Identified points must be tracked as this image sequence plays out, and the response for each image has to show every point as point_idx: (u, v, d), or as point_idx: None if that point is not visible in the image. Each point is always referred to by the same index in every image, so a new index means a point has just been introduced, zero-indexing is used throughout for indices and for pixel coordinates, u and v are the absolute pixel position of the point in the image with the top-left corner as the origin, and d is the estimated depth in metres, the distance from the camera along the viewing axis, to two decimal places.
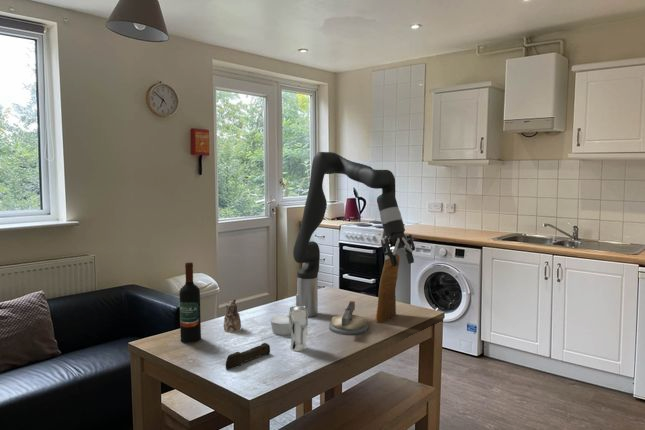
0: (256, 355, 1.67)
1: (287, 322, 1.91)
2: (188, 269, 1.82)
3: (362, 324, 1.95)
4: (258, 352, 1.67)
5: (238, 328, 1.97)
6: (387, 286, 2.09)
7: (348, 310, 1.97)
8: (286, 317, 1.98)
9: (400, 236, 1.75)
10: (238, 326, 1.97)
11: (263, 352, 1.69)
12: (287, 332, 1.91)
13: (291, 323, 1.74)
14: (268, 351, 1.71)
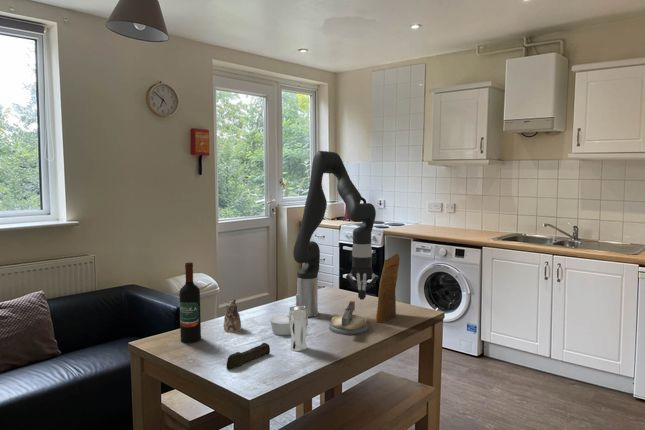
0: (256, 355, 1.67)
1: (287, 322, 1.91)
2: (188, 269, 1.82)
3: (362, 324, 1.95)
4: (258, 352, 1.67)
5: (238, 328, 1.97)
6: (387, 286, 2.09)
7: (348, 310, 1.97)
8: (286, 317, 1.98)
9: (364, 271, 1.85)
10: (238, 326, 1.97)
11: (263, 352, 1.69)
12: (287, 332, 1.91)
13: (291, 323, 1.74)
14: (268, 351, 1.71)
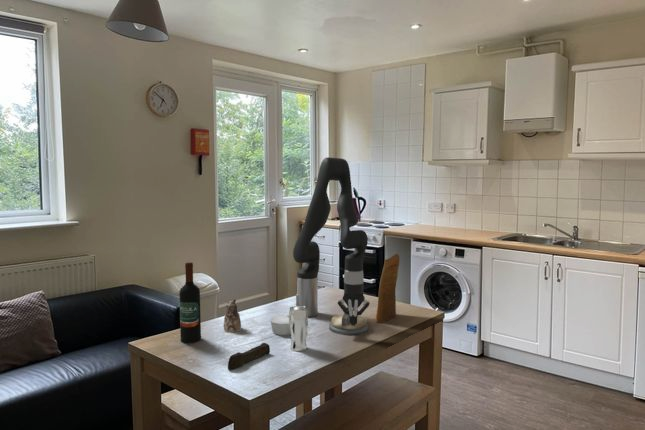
0: (257, 355, 1.67)
1: (287, 322, 1.91)
2: (188, 269, 1.82)
3: (362, 324, 1.95)
4: (258, 352, 1.67)
5: (238, 328, 1.97)
6: (387, 286, 2.09)
7: None
8: (286, 317, 1.98)
9: (356, 297, 1.86)
10: (238, 326, 1.97)
11: (263, 352, 1.69)
12: (287, 332, 1.91)
13: (291, 323, 1.74)
14: (268, 351, 1.71)
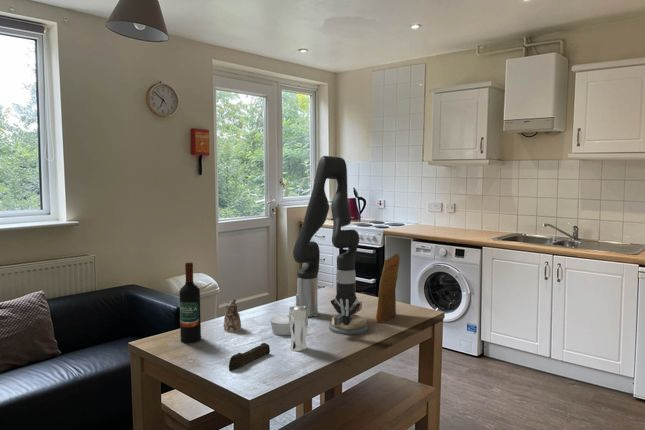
0: (257, 355, 1.67)
1: (287, 322, 1.91)
2: (188, 269, 1.82)
3: (359, 325, 1.94)
4: (259, 352, 1.67)
5: (238, 328, 1.97)
6: (387, 286, 2.09)
7: None
8: (286, 317, 1.98)
9: (347, 297, 1.86)
10: (238, 326, 1.97)
11: (263, 352, 1.69)
12: (287, 332, 1.91)
13: (291, 323, 1.74)
14: (268, 351, 1.71)
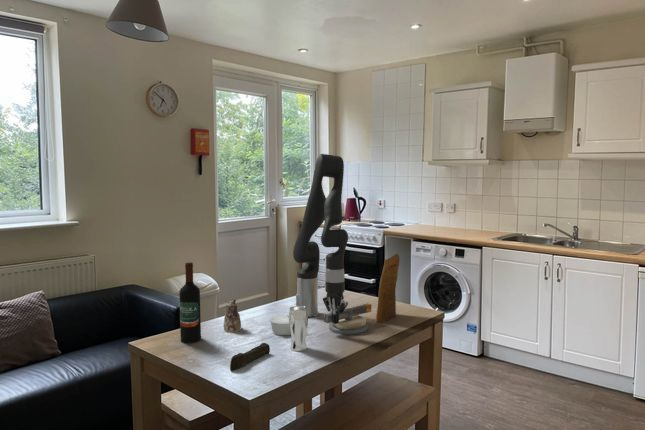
0: (257, 355, 1.67)
1: (287, 322, 1.91)
2: (188, 269, 1.82)
3: (353, 326, 1.93)
4: (259, 352, 1.67)
5: (238, 328, 1.97)
6: (387, 286, 2.09)
7: (345, 310, 1.97)
8: (286, 317, 1.98)
9: (334, 296, 1.88)
10: (238, 326, 1.97)
11: (263, 352, 1.69)
12: (287, 332, 1.91)
13: (291, 323, 1.74)
14: (268, 351, 1.71)
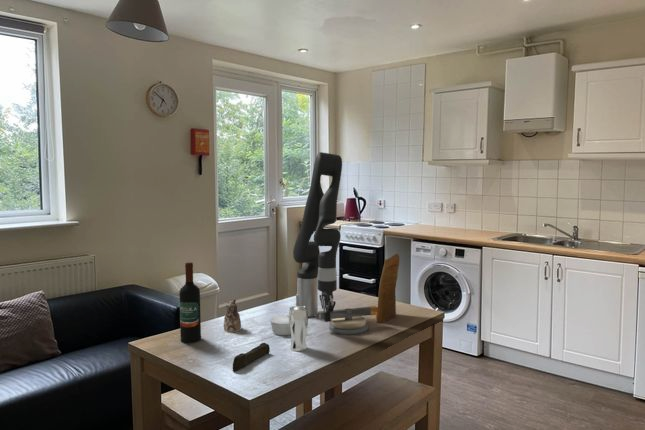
0: (258, 355, 1.67)
1: (287, 322, 1.91)
2: (188, 269, 1.82)
3: (346, 326, 1.93)
4: (260, 352, 1.67)
5: (238, 328, 1.97)
6: (387, 286, 2.09)
7: (344, 310, 1.98)
8: (286, 317, 1.98)
9: (325, 294, 1.91)
10: (238, 326, 1.97)
11: (264, 352, 1.69)
12: (287, 332, 1.91)
13: (291, 323, 1.74)
14: (268, 351, 1.71)
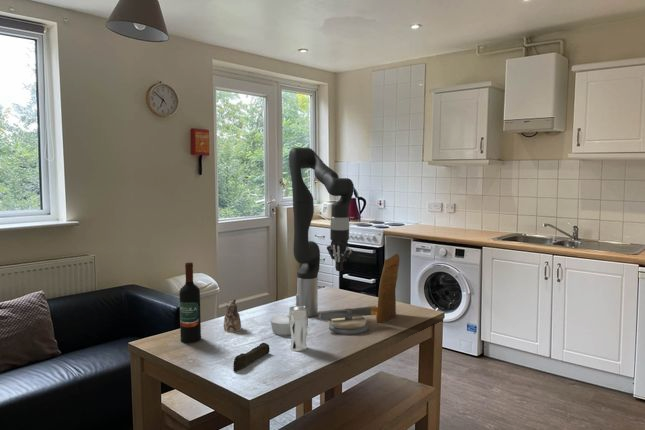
0: (258, 355, 1.67)
1: (287, 322, 1.91)
2: (188, 269, 1.82)
3: (346, 326, 1.93)
4: (260, 352, 1.67)
5: (238, 328, 1.97)
6: (387, 286, 2.09)
7: (344, 310, 1.98)
8: (286, 317, 1.98)
9: (339, 243, 1.92)
10: (238, 326, 1.97)
11: (264, 352, 1.70)
12: (287, 332, 1.91)
13: (291, 323, 1.74)
14: (268, 350, 1.71)
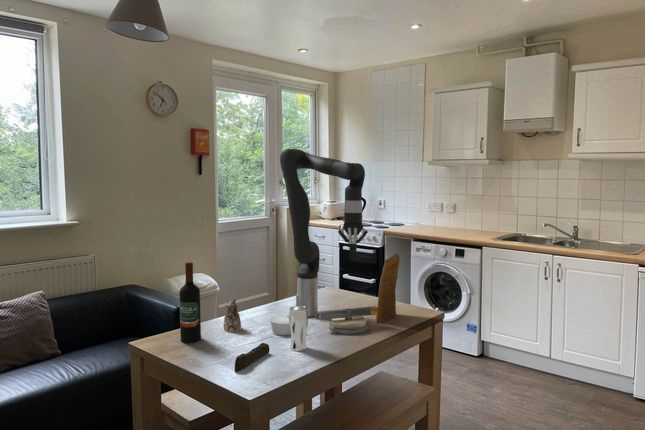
0: (258, 355, 1.67)
1: (287, 322, 1.91)
2: (188, 269, 1.82)
3: (346, 326, 1.93)
4: (260, 352, 1.67)
5: (238, 328, 1.97)
6: (387, 286, 2.09)
7: (344, 310, 1.98)
8: (286, 317, 1.98)
9: (355, 226, 1.99)
10: (238, 326, 1.97)
11: (264, 352, 1.70)
12: (287, 332, 1.91)
13: (291, 323, 1.74)
14: (267, 351, 1.72)
